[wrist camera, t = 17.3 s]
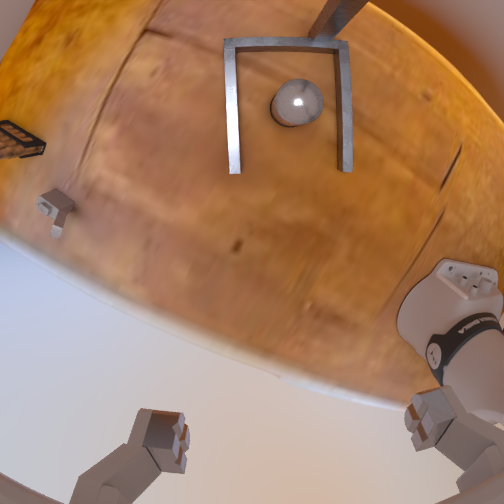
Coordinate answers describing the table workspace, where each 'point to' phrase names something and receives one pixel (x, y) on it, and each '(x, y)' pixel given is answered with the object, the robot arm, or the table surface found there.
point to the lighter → (55, 209)
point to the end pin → (296, 103)
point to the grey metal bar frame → (320, 41)
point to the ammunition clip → (18, 142)
